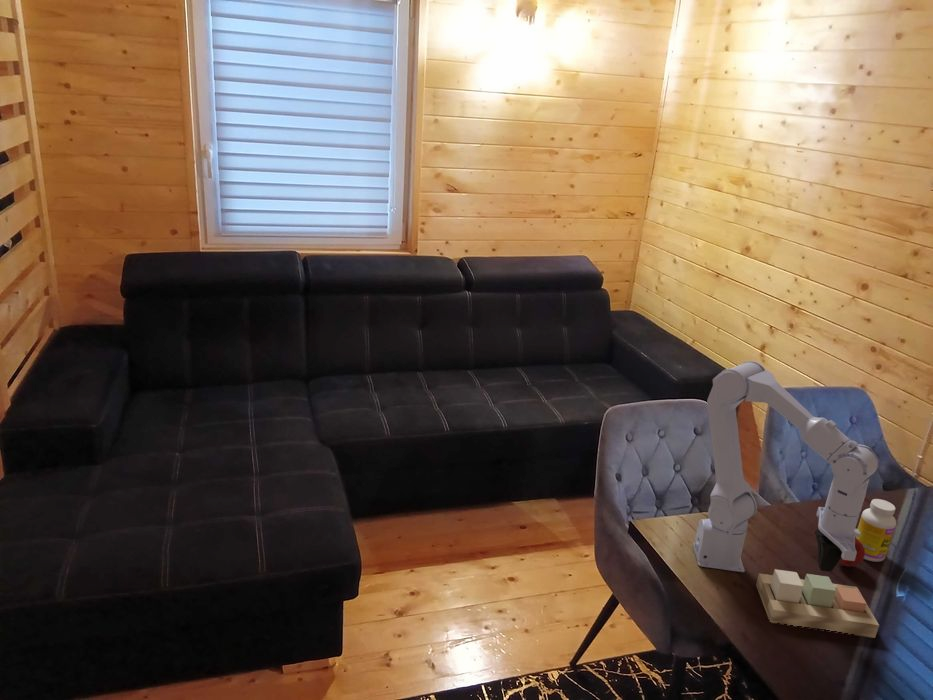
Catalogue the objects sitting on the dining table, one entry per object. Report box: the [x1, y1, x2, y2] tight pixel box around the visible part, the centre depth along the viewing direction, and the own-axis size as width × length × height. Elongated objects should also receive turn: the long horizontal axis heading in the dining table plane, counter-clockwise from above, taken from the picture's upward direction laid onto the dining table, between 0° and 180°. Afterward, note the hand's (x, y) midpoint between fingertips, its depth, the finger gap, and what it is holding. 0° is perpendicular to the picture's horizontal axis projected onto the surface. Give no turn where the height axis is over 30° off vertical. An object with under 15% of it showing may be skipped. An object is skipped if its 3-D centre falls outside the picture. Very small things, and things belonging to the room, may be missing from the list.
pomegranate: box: [838, 537, 865, 567], centre depth 149 cm, size 6×6×8 cm
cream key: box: [770, 568, 803, 603], centre depth 135 cm, size 4×4×4 cm
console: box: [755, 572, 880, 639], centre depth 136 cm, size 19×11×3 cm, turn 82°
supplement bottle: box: [856, 498, 897, 563], centre depth 153 cm, size 7×7×13 cm
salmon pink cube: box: [834, 586, 868, 613], centre depth 135 cm, size 4×4×4 cm
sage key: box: [802, 573, 836, 608], centre depth 135 cm, size 4×4×4 cm
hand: (824, 568), depth 133 cm, fingers closed
